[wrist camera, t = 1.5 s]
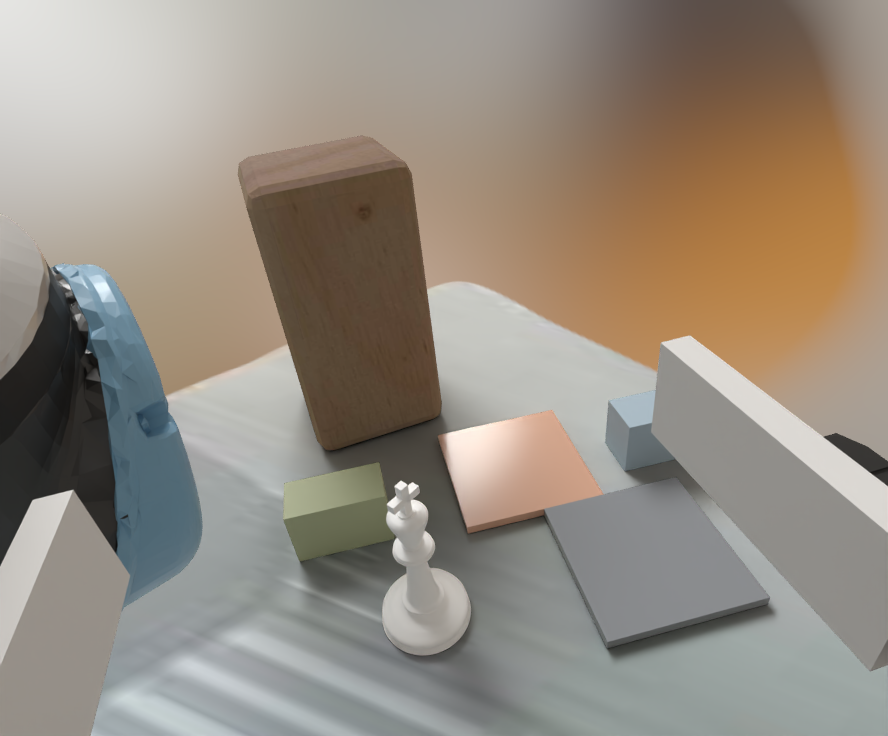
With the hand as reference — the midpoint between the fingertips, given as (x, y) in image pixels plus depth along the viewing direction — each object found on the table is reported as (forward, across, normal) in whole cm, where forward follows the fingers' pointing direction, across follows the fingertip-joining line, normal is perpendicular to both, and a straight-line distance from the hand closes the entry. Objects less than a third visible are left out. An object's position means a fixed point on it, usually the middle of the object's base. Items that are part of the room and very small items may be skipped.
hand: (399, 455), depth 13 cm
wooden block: (+29, 0, -19) cm, 35 cm away
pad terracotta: (+18, +8, -20) cm, 28 cm away
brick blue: (+16, +18, -20) cm, 32 cm away
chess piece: (+9, 0, -20) cm, 22 cm away
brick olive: (+16, -4, -20) cm, 26 cm away
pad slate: (+9, +13, -20) cm, 25 cm away
